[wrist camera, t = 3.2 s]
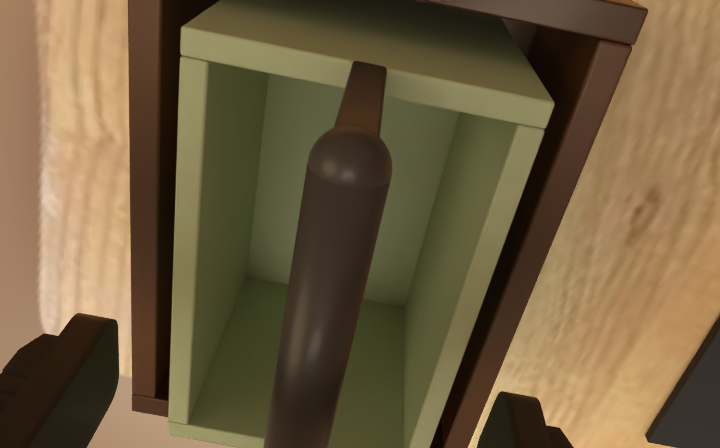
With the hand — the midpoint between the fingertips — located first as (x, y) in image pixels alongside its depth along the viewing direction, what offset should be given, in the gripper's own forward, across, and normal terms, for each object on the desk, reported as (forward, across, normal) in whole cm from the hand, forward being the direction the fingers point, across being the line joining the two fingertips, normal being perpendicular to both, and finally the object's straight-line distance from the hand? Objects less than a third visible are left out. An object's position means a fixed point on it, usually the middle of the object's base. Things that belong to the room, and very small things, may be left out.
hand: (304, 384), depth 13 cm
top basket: (+11, 0, 0) cm, 11 cm away
